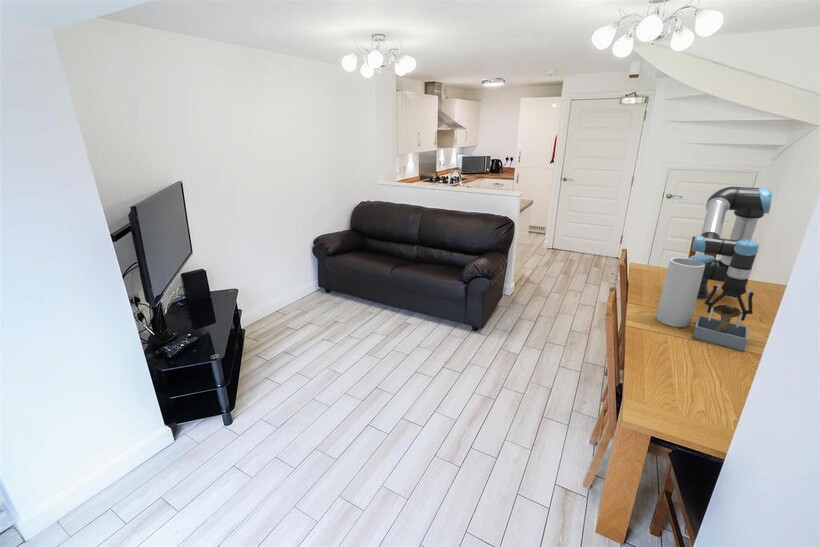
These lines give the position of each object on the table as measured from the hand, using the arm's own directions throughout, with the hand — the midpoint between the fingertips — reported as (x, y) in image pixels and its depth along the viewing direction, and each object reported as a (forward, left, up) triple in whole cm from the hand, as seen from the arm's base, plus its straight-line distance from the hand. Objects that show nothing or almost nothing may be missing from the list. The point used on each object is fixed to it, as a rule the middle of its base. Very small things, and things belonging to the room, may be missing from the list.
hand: (722, 322), depth 174 cm
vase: (-6, -19, -8) cm, 21 cm away
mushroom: (0, 0, -7) cm, 7 cm away
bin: (0, 0, -8) cm, 8 cm away
